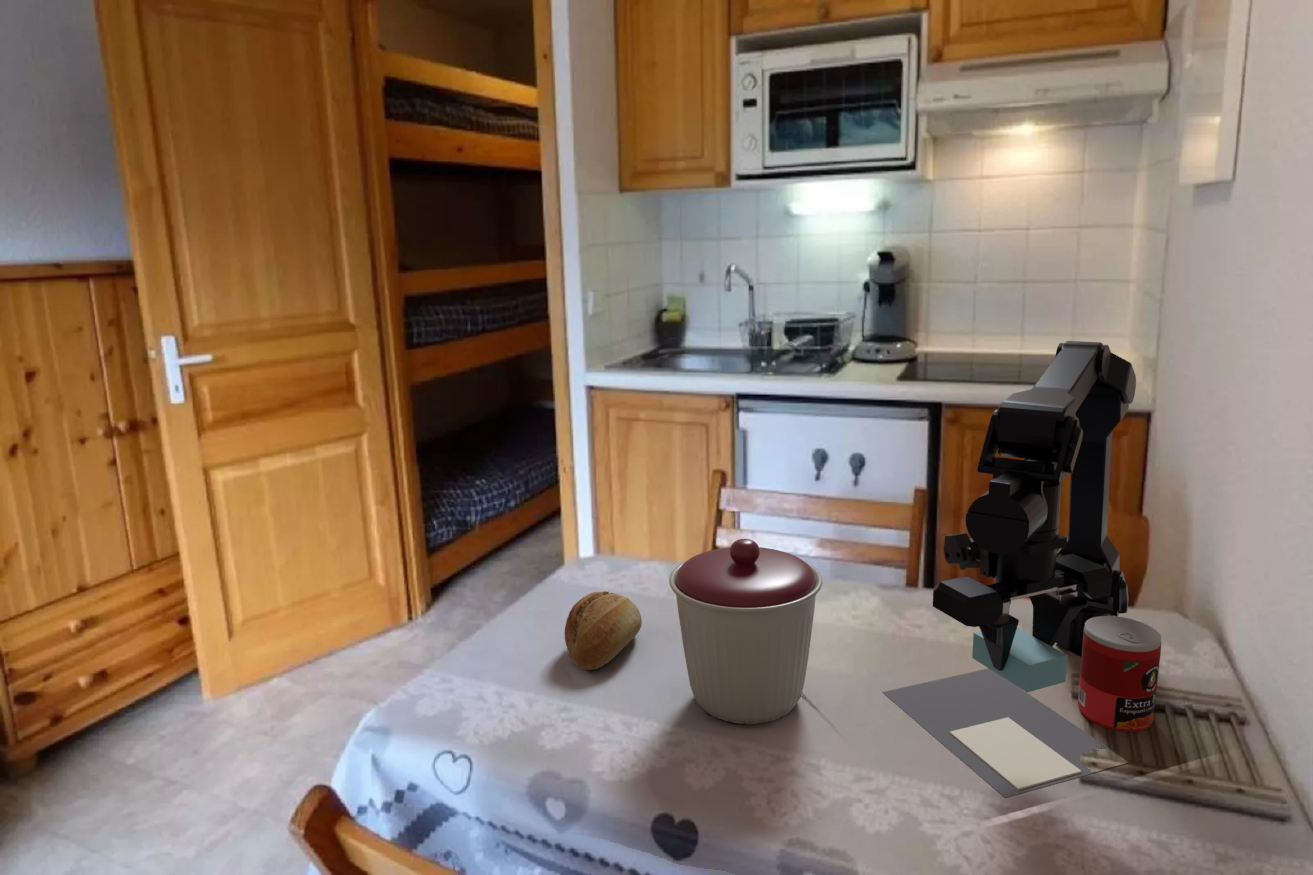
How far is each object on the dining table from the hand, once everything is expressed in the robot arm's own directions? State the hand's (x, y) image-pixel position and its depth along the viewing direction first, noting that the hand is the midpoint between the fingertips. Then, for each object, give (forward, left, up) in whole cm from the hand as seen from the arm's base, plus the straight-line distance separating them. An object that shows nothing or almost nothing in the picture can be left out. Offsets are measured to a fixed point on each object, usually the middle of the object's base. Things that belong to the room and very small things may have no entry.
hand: (1018, 663), depth 91 cm
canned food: (-16, -2, -11) cm, 20 cm away
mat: (-2, -5, -11) cm, 12 cm away
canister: (+22, -21, -11) cm, 32 cm away
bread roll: (+35, -41, -11) cm, 55 cm away
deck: (0, 0, -1) cm, 1 cm away
